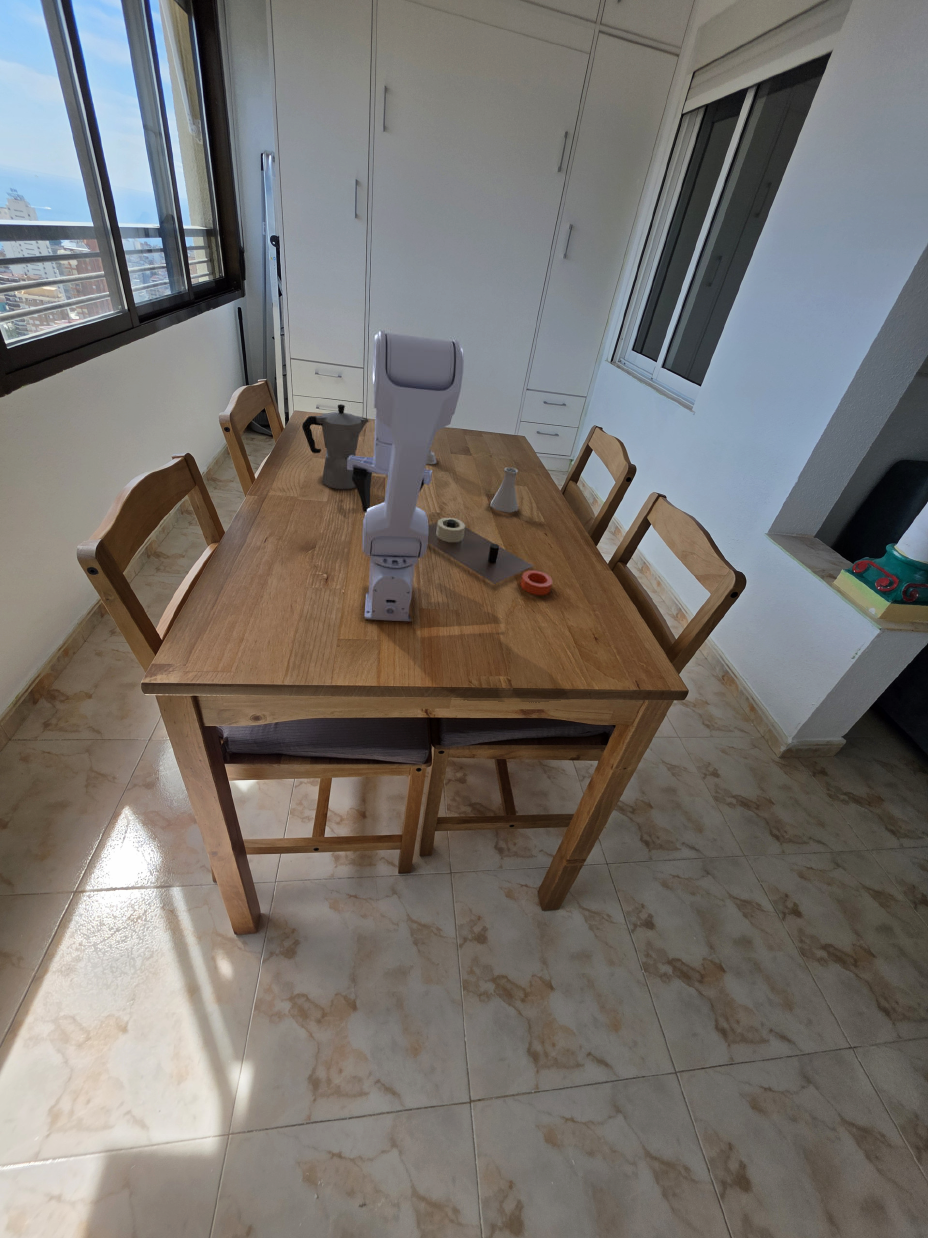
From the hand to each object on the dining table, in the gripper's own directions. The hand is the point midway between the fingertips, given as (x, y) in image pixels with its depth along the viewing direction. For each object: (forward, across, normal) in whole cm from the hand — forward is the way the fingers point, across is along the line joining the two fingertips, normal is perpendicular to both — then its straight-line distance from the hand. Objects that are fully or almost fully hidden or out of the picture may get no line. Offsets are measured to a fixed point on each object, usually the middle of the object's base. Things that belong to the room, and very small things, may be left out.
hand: (386, 513), depth 97 cm
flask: (+10, -21, -33) cm, 40 cm away
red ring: (+9, -29, +1) cm, 31 cm away
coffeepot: (+10, +20, -31) cm, 38 cm away
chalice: (+10, +2, -56) cm, 57 cm away
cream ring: (+8, -11, -12) cm, 19 cm away
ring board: (+9, -16, -9) cm, 20 cm away
